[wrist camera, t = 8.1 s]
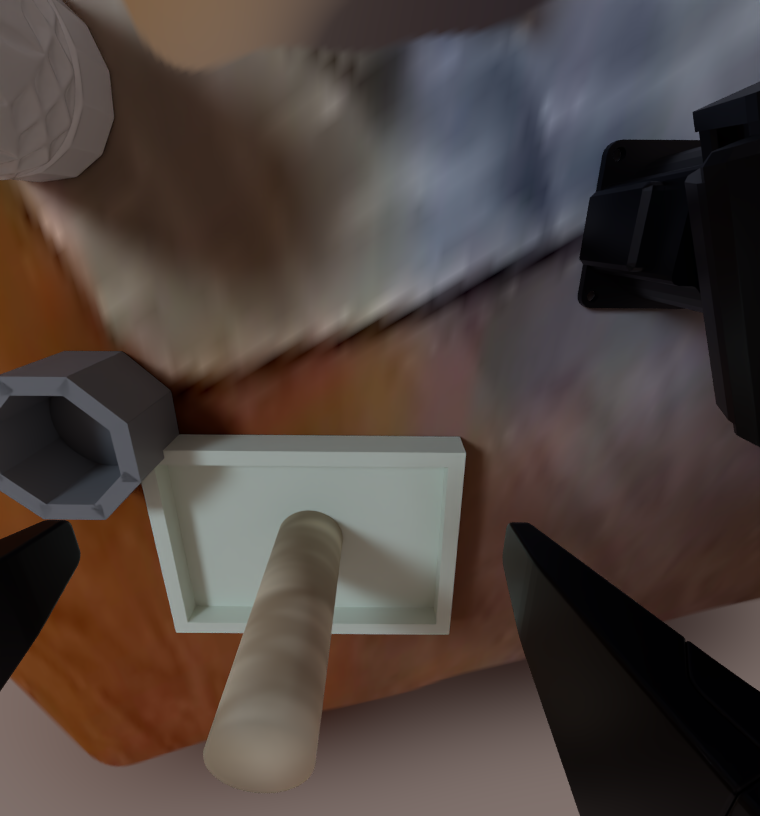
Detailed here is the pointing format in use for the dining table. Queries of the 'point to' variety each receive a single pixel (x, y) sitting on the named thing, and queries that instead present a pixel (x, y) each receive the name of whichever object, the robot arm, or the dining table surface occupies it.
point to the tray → (317, 491)
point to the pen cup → (81, 432)
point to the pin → (280, 664)
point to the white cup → (50, 92)
